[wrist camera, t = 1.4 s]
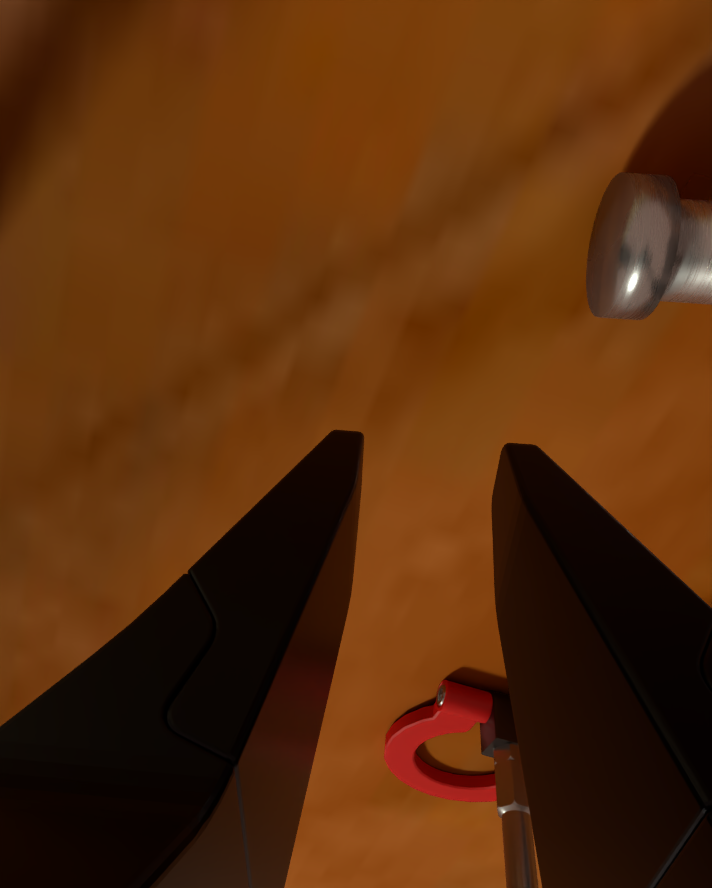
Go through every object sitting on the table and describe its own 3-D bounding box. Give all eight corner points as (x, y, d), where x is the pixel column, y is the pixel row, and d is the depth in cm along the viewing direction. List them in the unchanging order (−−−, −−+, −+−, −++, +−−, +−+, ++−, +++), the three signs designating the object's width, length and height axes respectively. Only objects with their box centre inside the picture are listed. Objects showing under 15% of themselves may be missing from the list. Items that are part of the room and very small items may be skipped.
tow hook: (506, 794, 37) (595, 713, 31) (532, 1122, 27) (670, 1088, 21) (363, 756, 36) (429, 665, 30) (334, 1082, 26) (424, 1035, 20)
